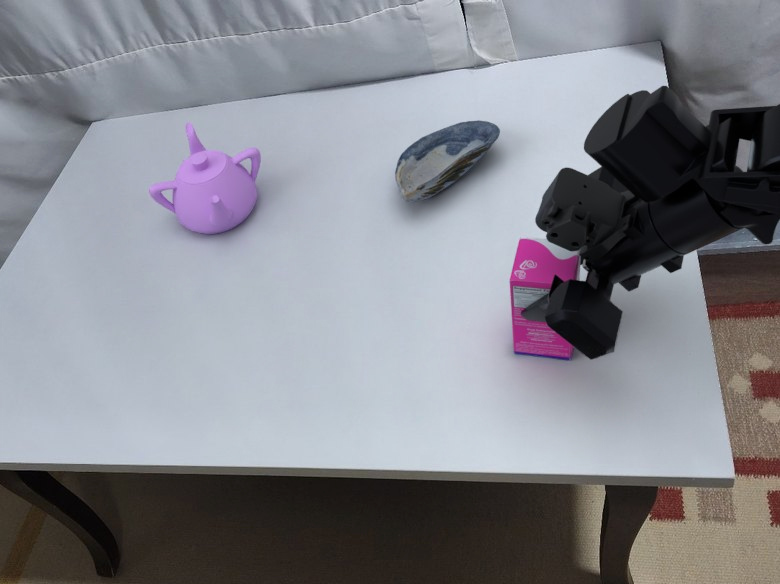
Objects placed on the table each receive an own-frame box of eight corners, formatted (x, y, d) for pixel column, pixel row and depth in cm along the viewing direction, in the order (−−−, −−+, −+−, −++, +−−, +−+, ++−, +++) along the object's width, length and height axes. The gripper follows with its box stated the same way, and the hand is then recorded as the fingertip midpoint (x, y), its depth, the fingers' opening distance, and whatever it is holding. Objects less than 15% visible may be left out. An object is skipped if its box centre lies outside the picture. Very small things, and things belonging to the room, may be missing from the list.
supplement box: (520, 312, 81) (519, 234, 72) (579, 318, 78) (585, 238, 69) (510, 354, 78) (508, 279, 69) (571, 362, 75) (577, 285, 66)
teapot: (208, 172, 108) (186, 120, 101) (286, 192, 102) (269, 138, 95) (157, 227, 103) (132, 177, 96) (236, 252, 97) (214, 199, 90)
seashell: (500, 217, 90) (499, 185, 86) (395, 224, 93) (389, 193, 89) (500, 135, 98) (499, 103, 94) (404, 144, 102) (399, 113, 98)
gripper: (624, 85, 63) (495, 177, 76) (578, 244, 54) (441, 318, 67) (711, 168, 66) (573, 243, 79) (682, 332, 57) (531, 386, 70)
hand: (531, 292), depth 73 cm, fingers closed on supplement box, 6 cm apart
